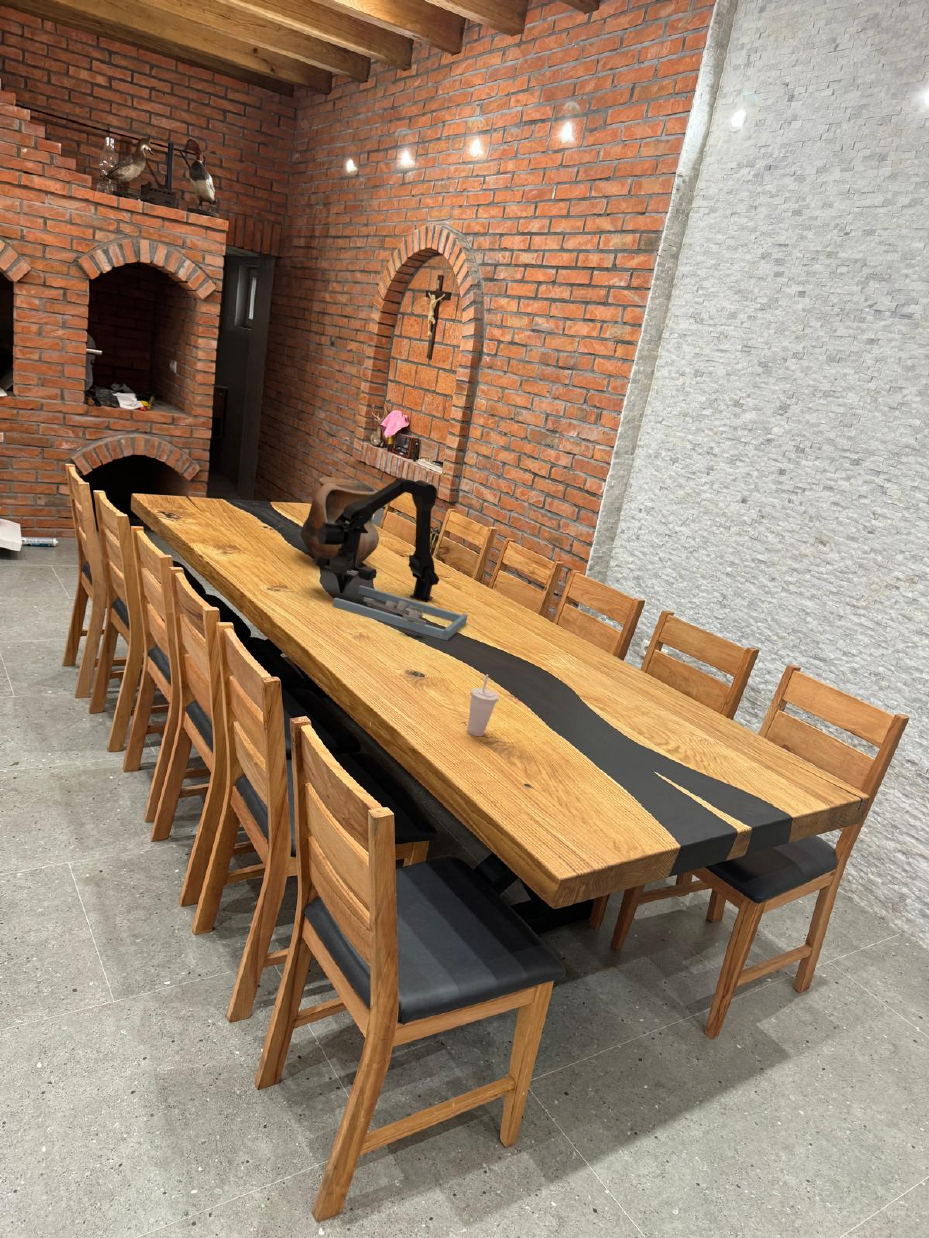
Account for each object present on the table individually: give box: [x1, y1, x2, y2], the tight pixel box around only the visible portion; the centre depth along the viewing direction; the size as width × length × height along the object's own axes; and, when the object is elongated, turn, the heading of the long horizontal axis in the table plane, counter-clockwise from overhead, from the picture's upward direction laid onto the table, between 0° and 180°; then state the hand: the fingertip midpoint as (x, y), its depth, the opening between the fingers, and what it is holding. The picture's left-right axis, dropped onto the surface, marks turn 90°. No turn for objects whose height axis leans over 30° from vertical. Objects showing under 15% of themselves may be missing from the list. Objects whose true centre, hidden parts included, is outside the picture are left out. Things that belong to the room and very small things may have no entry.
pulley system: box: [362, 596, 427, 625], centre depth 248 cm, size 27×5×15 cm
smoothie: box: [467, 673, 500, 737], centre depth 183 cm, size 6×6×14 cm
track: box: [332, 584, 469, 642], centre depth 254 cm, size 21×37×3 cm, turn 74°
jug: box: [300, 476, 380, 570], centre depth 290 cm, size 32×28×30 cm
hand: (341, 593), depth 258 cm, fingers closed
